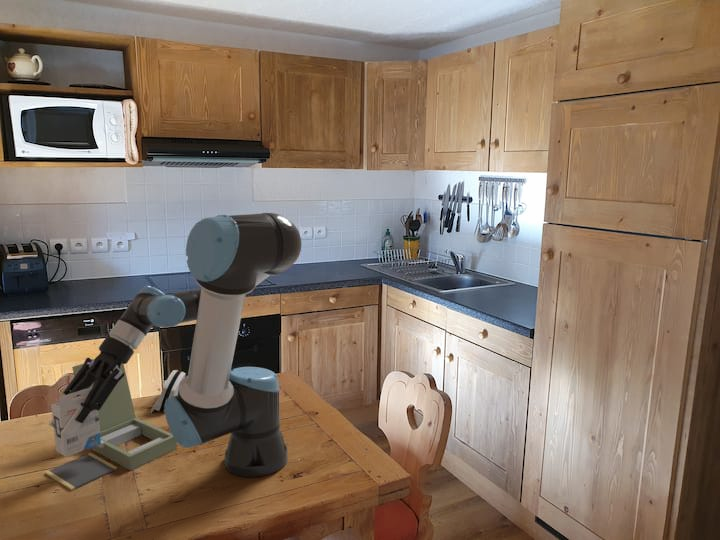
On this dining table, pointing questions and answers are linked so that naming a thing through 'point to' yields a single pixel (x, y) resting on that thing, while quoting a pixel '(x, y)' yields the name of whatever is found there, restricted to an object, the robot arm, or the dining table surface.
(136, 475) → the dining table surface
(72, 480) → the mat
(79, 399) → the ink box
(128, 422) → the case
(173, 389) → the white black curved block
